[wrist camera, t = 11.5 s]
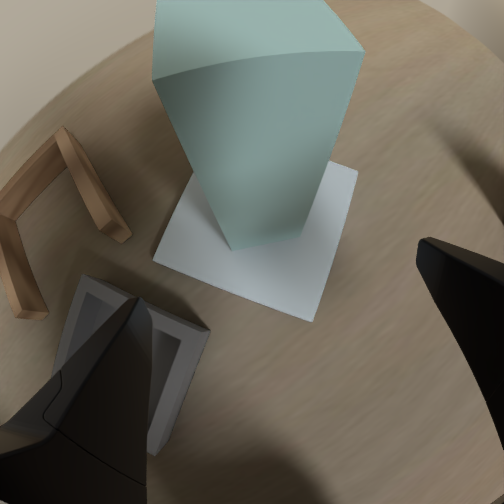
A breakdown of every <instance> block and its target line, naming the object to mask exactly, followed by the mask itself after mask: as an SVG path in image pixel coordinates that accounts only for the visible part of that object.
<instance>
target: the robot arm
mask: <svg viewBox="0 0 504 504" xmlns="http://www.w3.org/2000/svg"><path fill="white" fill-rule="evenodd" d="M416 265H417V268H418V270H419V272H420V274H421V276H422V278H423V280H424V282H425V284H426V286H427V288H428V290H429V292H430V294H431V296H432V298H433V300H434V302H435V304H436V305H437V307H438V309H439V311H440V312H441V314H442V316H443V317H444V319H445V321H446V323H447V324H448V326H449V328H450V330H451V332H452V333H453V335H454V337H455V339H456V341H457V343H458V345H459V346H460V348H461V350H462V352H463V354H464V356H465V358H466V360H467V362H468V364H469V366H470V368H471V370H472V372H473V375H474V377H475V379H476V381H477V383H478V385H479V388H480V390H481V392H482V394H483V397H484V399H485V401H486V404H487V407H488V409H489V412H490V414H491V417H492V419H493V422H494V425H495V427H496V430H497V433H498V436H499V438H500V441H501V444H502V447H503V450H504V264H503V263H501V262H498V261H496V260H493V259H491V258H488V257H485V256H483V255H480V254H478V253H475V252H472V251H469V250H467V249H464V248H461V247H458V246H456V245H453V244H450V243H447V242H444V241H441V240H438V239H435V238H432V237H427V238H423V239H421V240H420V241H419V243H418V249H417V256H416ZM152 334H153V322H152V317H151V315H150V313H149V311H148V309H147V307H146V305H145V303H144V301H143V299H142V298H141V297H134V298H129V299H127V300H126V301H125V302H124V303H123V304H122V305H121V306H120V307H119V308H118V309H117V310H116V311H115V312H114V313H113V314H112V315H111V316H110V317H109V318H108V319H107V320H106V321H105V322H104V323H103V324H102V325H101V326H100V327H99V328H98V329H97V330H96V331H95V332H94V333H93V334H92V335H91V336H90V337H89V339H88V340H87V341H86V342H85V343H84V344H83V345H82V346H81V347H80V348H79V349H78V350H77V351H76V352H75V353H74V354H73V355H72V356H71V357H70V358H69V359H68V361H67V362H66V363H65V364H64V365H63V366H62V367H61V369H59V370H58V371H57V372H56V373H55V375H54V376H53V377H52V378H51V379H50V380H49V381H48V382H47V383H46V384H45V385H44V386H43V387H42V388H41V389H40V390H39V391H38V392H37V393H36V394H35V395H34V396H33V397H32V398H31V399H30V400H29V401H28V402H27V403H26V404H25V405H24V406H23V407H22V408H21V409H20V410H19V411H18V412H17V413H16V414H15V415H14V416H13V417H12V418H11V419H10V420H9V421H8V422H6V423H5V424H3V425H1V426H0V504H147V489H146V487H145V486H146V460H147V431H148V414H149V399H150V387H151V376H152V361H153V352H152ZM491 504H504V494H503V495H502V496H500V497H499V498H498V499H496V500H495V501H494V502H492V503H491Z"/></svg>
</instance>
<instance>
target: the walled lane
mask: <svg viewBox="0 0 504 504" xmlns="http://www.w3.org/2000/svg"><path fill="white" fill-rule="evenodd" d="M66 167H68V169H69V171H70V174H71V176H72V178H73V180H74V182H75V184H76V186H77V188H78V191H79V193H80V195H81V197H82V199H83V201H84V203H85V205H86V207H87V209H88V211H89V212H90V214H91V216H92V218H93V220H94V222H95V224H96V226H97V228H98V229H99V231H101V232H102V233H104V234H106V235H107V236H109V237H111V238H112V239H114V240H116V241H118V242H119V243H121V244H122V243H123V242H125V241H126V240H127V239H128V238H129V237H130V236H132V235H133V234H132V232H131V231H130V229H129V228H128V226H127V224H126V223H125V221H124V220H123V218H122V216H121V215H120V213H119V211H118V210H117V208H116V206H115V205H114V203H113V201H112V200H111V198H110V196H109V195H108V193H107V191H106V189H105V188H104V186H103V184H102V183H101V181H100V179H99V177H98V175H97V174H96V172H95V170H94V168H93V166H92V165H91V163H90V161H89V159H88V157H87V155H86V153H85V152H84V150H83V148H82V146H81V144H80V143H79V142H78V141H77V140H76V139H75V138H74V137H73V136H72V135H71V134H70V133H69V132H68V130H67V129H66V128H65V127H64V126H62V127H61V128H60V129H59V130H58V131H57V132H56V133H54V134H53V135H52V136H51V137H50V138H49V139H48V140H47V141H46V142H45V143H44V144H43V145H42V146H41V147H40V148H39V149H38V150H37V151H36V152H35V153H34V154H33V155H32V156H31V157H30V158H29V159H28V160H27V161H26V162H25V163H24V165H23V166H22V167H21V168H20V169H19V170H18V171H17V172H16V173H15V175H14V176H13V177H12V178H11V179H10V180H9V182H8V183H7V184H6V185H5V186H4V188H3V189H2V190H1V191H0V275H1V278H2V281H3V285H4V288H5V291H6V294H7V297H8V300H9V302H10V305H11V308H12V311H13V313H14V316H15V318H20V319H32V320H43V319H44V318H45V317H46V316H47V315H48V314H49V312H48V310H47V307H46V305H45V303H44V301H43V298H42V296H41V294H40V291H39V289H38V286H37V284H36V282H35V279H34V276H33V274H32V271H31V269H30V266H29V263H28V260H27V257H26V254H25V252H24V249H23V245H22V242H21V239H20V236H19V233H18V229H17V226H16V222H15V221H16V220H17V219H18V217H19V216H20V215H21V214H22V213H23V212H24V211H25V209H26V208H27V207H28V206H29V205H30V204H31V203H32V202H33V201H34V199H35V198H36V197H37V196H38V195H39V194H40V193H41V192H42V191H43V190H44V189H45V188H46V187H47V186H48V185H49V184H50V183H51V182H52V181H53V180H54V179H55V178H56V177H57V176H58V175H59V174H60V173H61V172H62V171H63V170H64V169H65V168H66Z"/></svg>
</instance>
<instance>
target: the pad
mask: <svg viewBox="0 0 504 504" xmlns="http://www.w3.org/2000/svg"><path fill="white" fill-rule="evenodd" d="M357 175H358V171H356V170H353V169H350V168H348V167H345V166H342V165H340V164H337V163H334V162H331V161H328V164H327V167H326V170H325V172H324V175H323V178H322V180H321V183H320V186H319V188H318V191H317V194H316V196H315V199H314V202H313V204H312V207H311V210H310V212H309V215H308V217H307V220H306V223H305V225H304V228H303V230H302V233H301V235H300V237H297V238H292V239H288V240H283V241H278V242H273V243H268V244H264V245H259V246H254V247H249V248H244V249H240V250H235V251H232V250H231V248H230V246H229V244H228V242H227V240H226V238H225V236H224V234H223V232H222V229H221V227H220V225H219V223H218V221H217V219H216V217H215V215H214V213H213V211H212V209H211V207H210V204H209V202H208V200H207V198H206V196H205V194H204V192H203V190H202V188H201V186H200V183H199V181H198V179H197V177H196V175H195V173H194V172H193V174H192V176H191V178H190V180H189V182H188V184H187V186H186V188H185V190H184V192H183V194H182V196H181V198H180V200H179V202H178V204H177V206H176V209H175V211H174V213H173V215H172V217H171V219H170V221H169V224H168V226H167V228H166V230H165V232H164V235H163V237H162V239H161V242H160V244H159V246H158V248H157V251H156V253H155V255H154V258H153V261H154V262H156V263H159V264H161V265H163V266H166V267H168V268H171V269H173V270H175V271H178V272H180V273H183V274H185V275H187V276H190V277H192V278H195V279H197V280H200V281H202V282H205V283H207V284H210V285H212V286H215V287H217V288H220V289H222V290H225V291H227V292H230V293H233V294H235V295H238V296H240V297H243V298H246V299H248V300H251V301H254V302H256V303H259V304H262V305H264V306H267V307H270V308H272V309H275V310H278V311H281V312H283V313H286V314H289V315H292V316H294V317H297V318H300V319H303V320H306V321H308V322H312V321H313V319H314V316H315V313H316V310H317V307H318V305H319V302H320V299H321V296H322V293H323V290H324V287H325V284H326V281H327V278H328V275H329V272H330V269H331V266H332V263H333V260H334V256H335V253H336V250H337V247H338V243H339V240H340V237H341V233H342V230H343V227H344V223H345V220H346V216H347V213H348V209H349V205H350V202H351V198H352V194H353V190H354V187H355V183H356V179H357Z"/></svg>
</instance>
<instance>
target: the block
mask: <svg viewBox="0 0 504 504" xmlns="http://www.w3.org/2000/svg"><path fill="white" fill-rule="evenodd" d="M364 54H365V50H364V49H363V48H362V46H361V45H360V44H359V42H358V41H357V40H356V38H355V37H354V36H353V35H352V33H351V32H350V31H349V30H348V28H347V27H346V26H345V25H344V23H343V22H342V21H341V20H340V19H339V17H338V16H337V15H336V14H335V13H334V12H333V11H332V9H331V8H330V7H329V6H328V5H327V4H326V3H325V2H324V1H323V0H157V5H156V15H155V28H154V43H153V64H152V81H153V84H154V86H155V88H156V90H157V93H158V95H159V97H160V99H161V101H162V104H163V106H164V108H165V110H166V112H167V115H168V117H169V119H170V121H171V123H172V126H173V128H174V130H175V132H176V134H177V136H178V139H179V141H180V143H181V145H182V147H183V149H184V151H185V154H186V156H187V158H188V160H189V162H190V164H191V166H192V169H193V171H194V173H195V175H196V177H197V179H198V181H199V183H200V186H201V188H202V190H203V192H204V194H205V196H206V198H207V200H208V202H209V204H210V207H211V209H212V211H213V213H214V215H215V217H216V219H217V221H218V223H219V225H220V227H221V229H222V232H223V234H224V236H225V238H226V240H227V242H228V244H229V246H230V248H231V250H232V251H235V250H240V249H244V248H249V247H254V246H259V245H264V244H268V243H273V242H278V241H283V240H288V239H292V238H297V237H300V235H301V233H302V230H303V228H304V225H305V223H306V220H307V217H308V215H309V212H310V210H311V207H312V204H313V202H314V199H315V196H316V194H317V191H318V188H319V186H320V183H321V180H322V178H323V175H324V172H325V170H326V167H327V164H328V161H329V159H330V156H331V153H332V150H333V147H334V145H335V142H336V139H337V136H338V133H339V130H340V127H341V125H342V122H343V119H344V116H345V113H346V110H347V107H348V104H349V101H350V98H351V95H352V92H353V89H354V86H355V83H356V80H357V77H358V74H359V70H360V67H361V64H362V61H363V58H364Z"/></svg>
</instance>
